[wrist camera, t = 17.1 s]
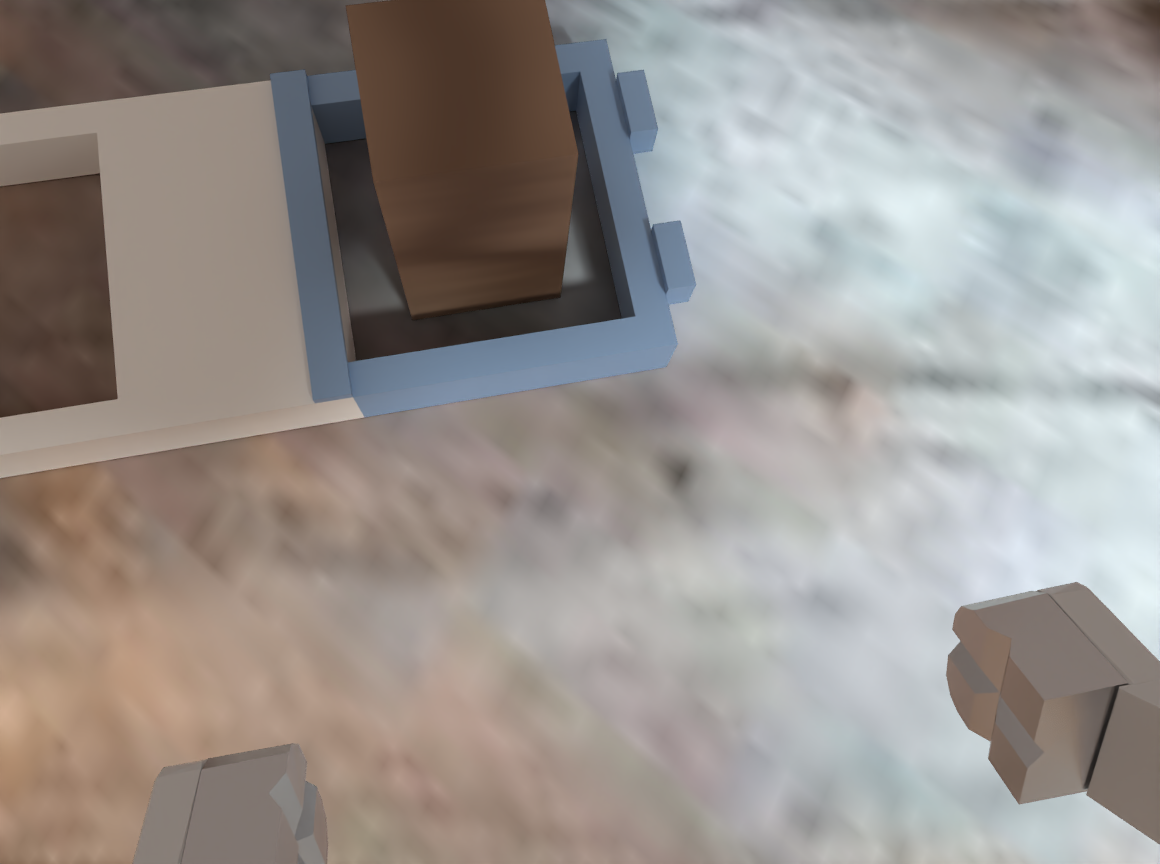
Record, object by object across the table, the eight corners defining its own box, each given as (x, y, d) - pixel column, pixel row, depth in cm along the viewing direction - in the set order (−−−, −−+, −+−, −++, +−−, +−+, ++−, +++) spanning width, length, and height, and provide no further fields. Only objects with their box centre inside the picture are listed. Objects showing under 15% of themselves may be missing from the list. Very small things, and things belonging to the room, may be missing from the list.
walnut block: (533, 167, 29) (541, -17, 21) (560, 297, 28) (578, 154, 20) (391, 186, 29) (345, 5, 21) (412, 320, 27) (373, 182, 20)
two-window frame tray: (624, 76, 30) (633, 27, 28) (691, 362, 28) (708, 334, 25) (-193, 181, 27) (-259, 135, 25) (-195, 510, 25) (-268, 493, 23)
